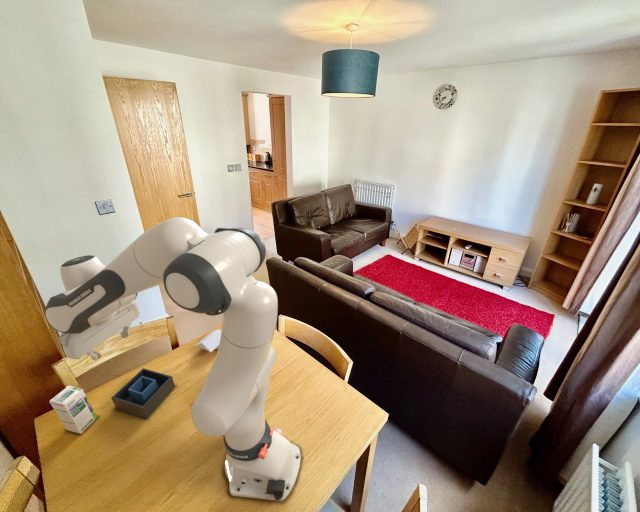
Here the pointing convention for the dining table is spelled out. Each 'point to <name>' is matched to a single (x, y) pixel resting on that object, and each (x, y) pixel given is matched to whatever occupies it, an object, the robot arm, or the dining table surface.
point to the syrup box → (73, 409)
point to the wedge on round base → (210, 341)
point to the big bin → (164, 388)
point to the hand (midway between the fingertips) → (112, 347)
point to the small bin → (143, 390)
